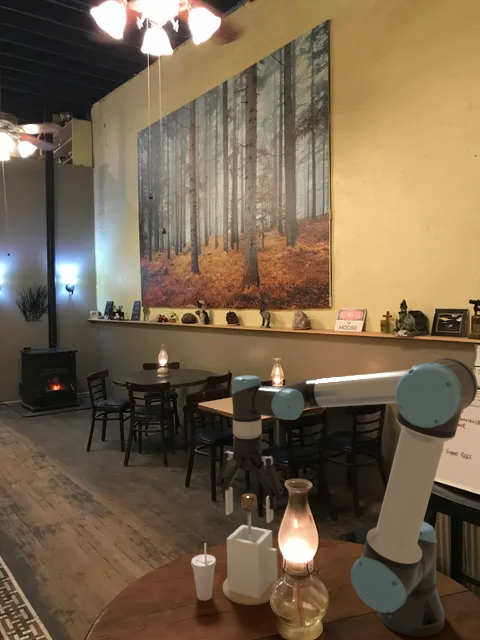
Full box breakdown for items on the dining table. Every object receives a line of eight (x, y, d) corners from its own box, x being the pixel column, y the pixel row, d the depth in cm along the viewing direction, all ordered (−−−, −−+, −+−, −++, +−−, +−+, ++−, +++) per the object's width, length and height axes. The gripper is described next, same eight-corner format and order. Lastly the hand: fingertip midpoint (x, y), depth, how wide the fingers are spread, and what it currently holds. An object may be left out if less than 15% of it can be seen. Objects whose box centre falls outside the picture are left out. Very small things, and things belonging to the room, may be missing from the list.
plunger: (265, 574, 137) (263, 494, 136) (255, 585, 132) (254, 502, 131) (245, 569, 140) (243, 491, 139) (236, 580, 134) (234, 498, 134)
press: (287, 580, 139) (286, 528, 139) (265, 611, 126) (263, 553, 125) (238, 568, 146) (237, 518, 145) (212, 596, 133) (211, 541, 132)
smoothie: (213, 605, 129) (211, 550, 128) (189, 602, 130) (187, 548, 130) (219, 590, 135) (218, 538, 135) (196, 588, 136) (194, 537, 136)
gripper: (294, 435, 132) (296, 518, 133) (215, 427, 143) (217, 504, 144) (283, 443, 125) (285, 530, 126) (201, 434, 136) (203, 514, 137)
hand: (249, 516), depth 135 cm, fingers open, 11 cm apart
